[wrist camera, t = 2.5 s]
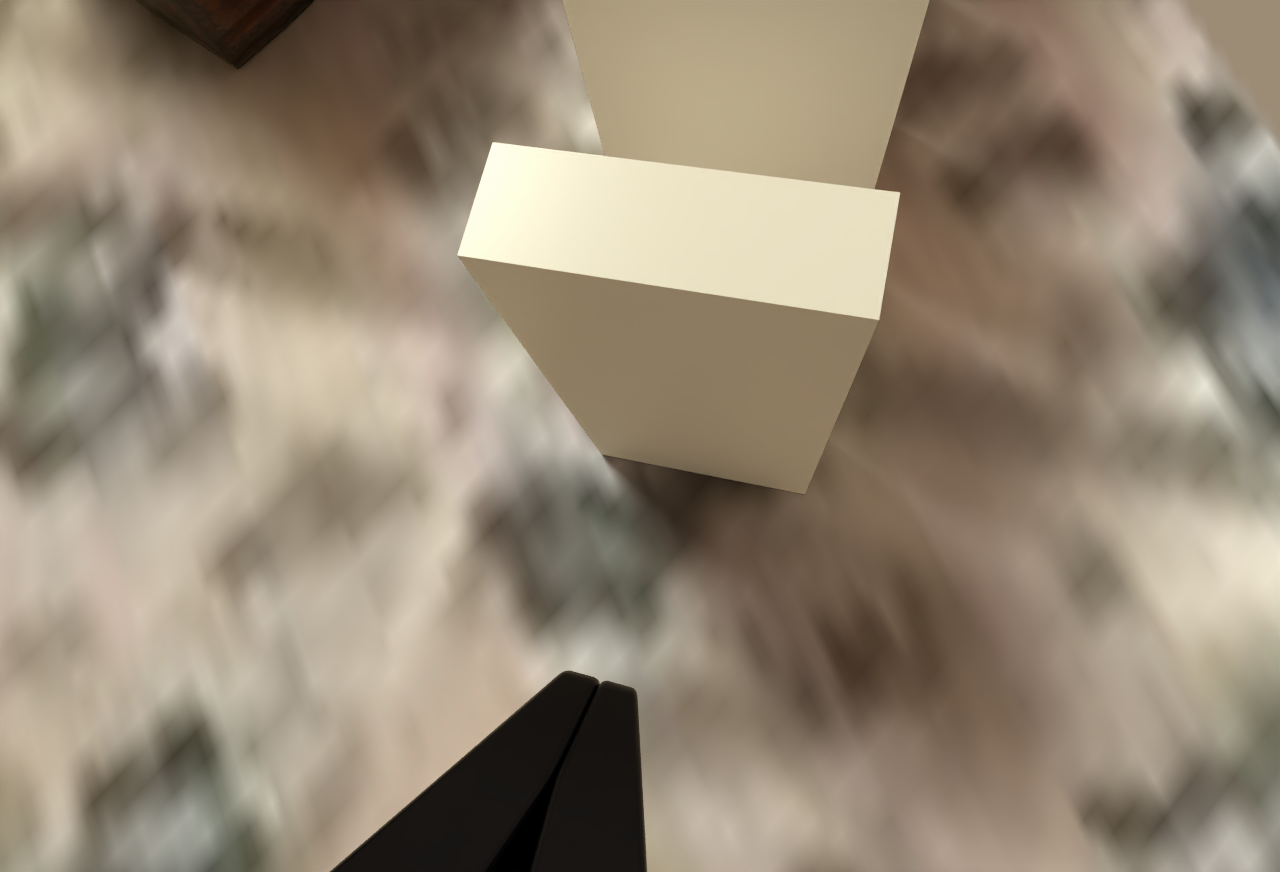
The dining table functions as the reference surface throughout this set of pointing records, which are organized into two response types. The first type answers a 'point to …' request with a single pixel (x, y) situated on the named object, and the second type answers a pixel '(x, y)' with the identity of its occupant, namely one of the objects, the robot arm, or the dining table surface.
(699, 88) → the domino
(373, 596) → the dining table surface
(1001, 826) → the dining table surface
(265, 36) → the dark brown boxy piece
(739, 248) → the domino
